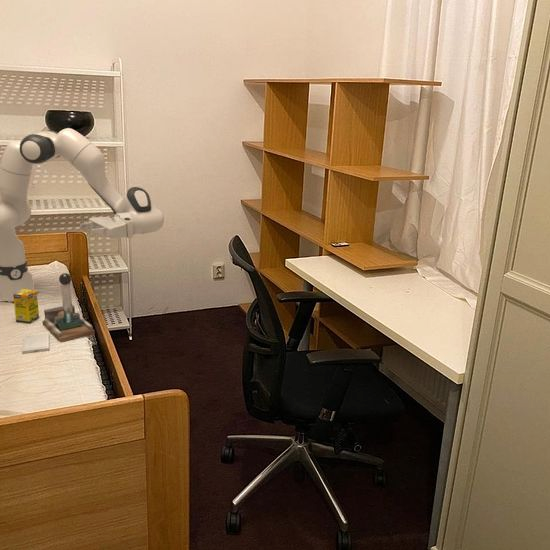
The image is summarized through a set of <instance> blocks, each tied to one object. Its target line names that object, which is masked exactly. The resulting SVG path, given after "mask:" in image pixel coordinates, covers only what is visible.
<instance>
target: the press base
mask: <svg viewBox="0 0 550 550" xmlns="http://www.w3.org/2000/svg"><path fill="white" fill-rule="evenodd" d="M72 310H73V313H76V309H75V306H74V305H73V304H72ZM43 313H44V320H42V326H43V327H45V328H46V330H47V331H49V333H50V334H51V335H52V336H53V337H54V338H55V339H56V340H57V341H58V342H59V343H63V342H68V341H73V340H77V339H81V338H85V337H86V338H87V337H90V336H94V335H95V334H96V333H95V332H96V331H95V329H94V328H93V327H94V326H93V325H92V324H90V323H89V322H88V321H87V320H86V319H85V318H83V317H82V316H81V315H80V319H81V320H82V326H78V327H73V328H69V329H64V330H59V329H58V328H56V327H55V322H54V317H57V316H62V315H64V312H63V305H62V306H57V307H51V308H47V309H46V308H45V309H44V310H43Z"/></svg>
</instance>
